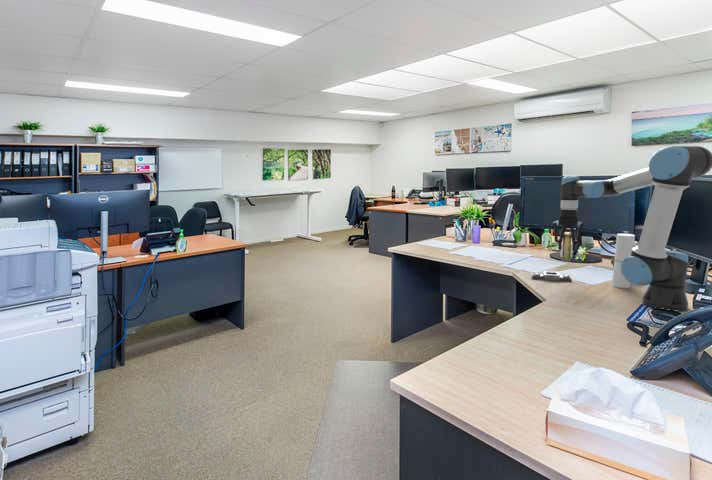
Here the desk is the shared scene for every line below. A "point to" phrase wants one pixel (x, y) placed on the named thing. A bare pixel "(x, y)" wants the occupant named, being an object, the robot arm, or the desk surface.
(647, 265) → the robot arm
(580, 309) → the desk surface
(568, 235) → the link pin
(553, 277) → the chain ends
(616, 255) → the cylindrical container
